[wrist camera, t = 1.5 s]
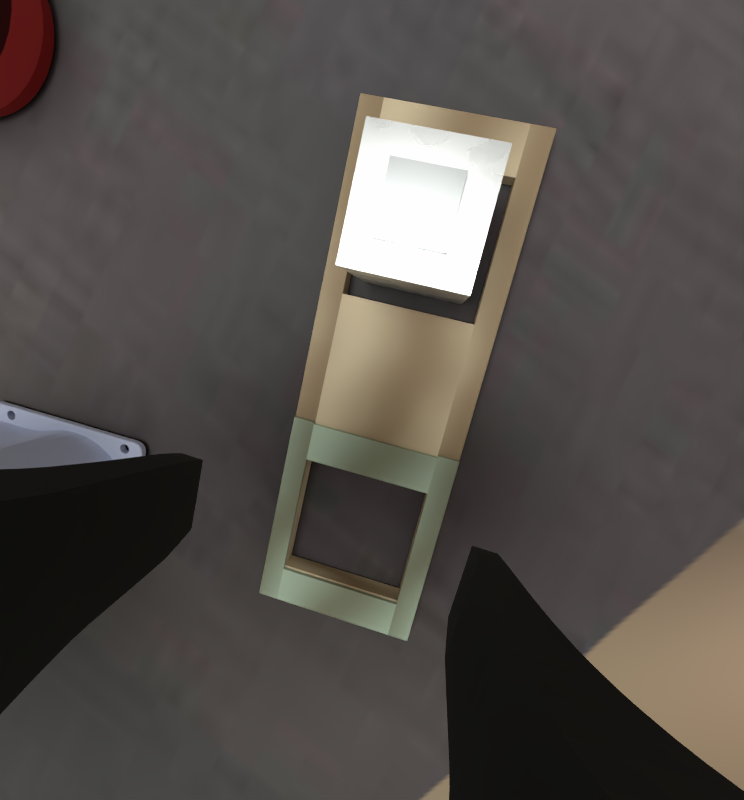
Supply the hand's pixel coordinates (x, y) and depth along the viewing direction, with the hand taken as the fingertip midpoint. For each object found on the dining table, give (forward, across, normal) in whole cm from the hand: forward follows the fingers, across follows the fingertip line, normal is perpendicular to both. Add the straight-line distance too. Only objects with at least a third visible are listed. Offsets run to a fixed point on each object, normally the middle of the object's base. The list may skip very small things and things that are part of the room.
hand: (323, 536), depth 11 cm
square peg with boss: (+11, 0, -9) cm, 14 cm away
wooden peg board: (+10, 0, -2) cm, 11 cm away
